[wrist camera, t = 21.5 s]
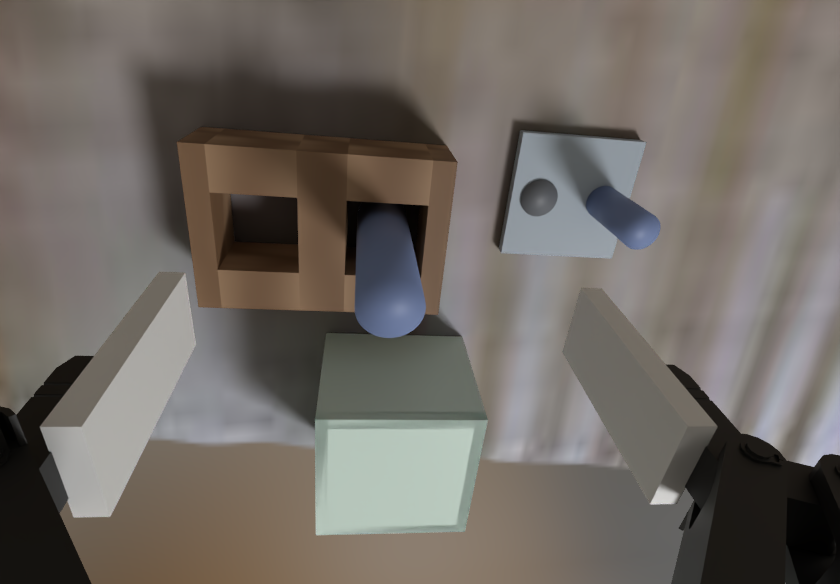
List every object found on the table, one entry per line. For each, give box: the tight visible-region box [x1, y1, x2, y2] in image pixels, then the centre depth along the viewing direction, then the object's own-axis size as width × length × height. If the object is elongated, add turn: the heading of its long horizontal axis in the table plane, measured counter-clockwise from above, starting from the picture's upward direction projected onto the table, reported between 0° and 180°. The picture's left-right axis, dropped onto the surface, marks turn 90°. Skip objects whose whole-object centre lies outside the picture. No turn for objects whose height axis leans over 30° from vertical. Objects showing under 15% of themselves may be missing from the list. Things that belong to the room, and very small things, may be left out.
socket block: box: [177, 127, 458, 315], centre depth 25 cm, size 12×8×4 cm, turn 84°
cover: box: [315, 333, 488, 535], centre depth 29 cm, size 8×8×8 cm
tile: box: [499, 130, 660, 258], centre depth 25 cm, size 7×7×5 cm
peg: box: [355, 202, 426, 338], centre depth 23 cm, size 3×3×10 cm
